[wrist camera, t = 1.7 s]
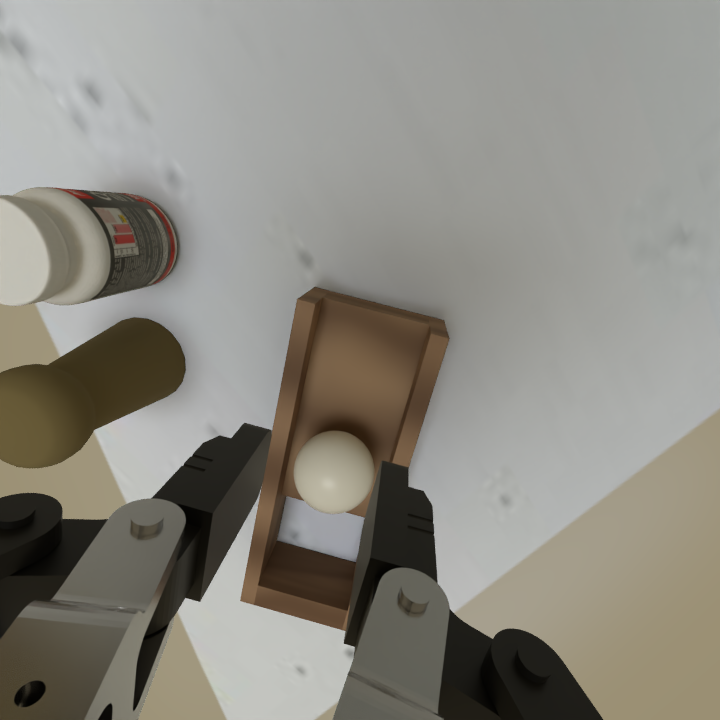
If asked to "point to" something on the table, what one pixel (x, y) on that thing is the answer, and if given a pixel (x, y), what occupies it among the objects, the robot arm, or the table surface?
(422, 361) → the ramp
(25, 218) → the pill bottle
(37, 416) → the pepper mill
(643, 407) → the table surface
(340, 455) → the ball
